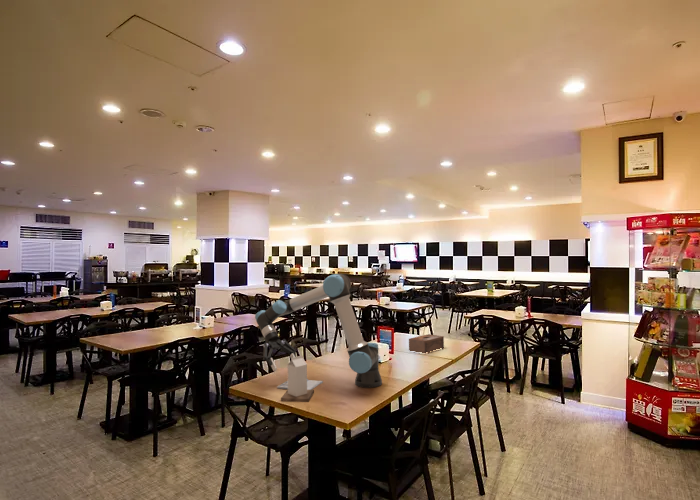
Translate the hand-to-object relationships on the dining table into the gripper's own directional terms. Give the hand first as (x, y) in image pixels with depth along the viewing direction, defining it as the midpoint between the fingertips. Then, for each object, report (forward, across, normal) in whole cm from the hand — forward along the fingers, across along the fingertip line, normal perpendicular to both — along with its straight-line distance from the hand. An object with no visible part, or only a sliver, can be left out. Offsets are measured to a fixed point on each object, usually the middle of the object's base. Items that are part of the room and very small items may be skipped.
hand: (286, 367), depth 211 cm
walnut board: (+17, +1, -1) cm, 17 cm away
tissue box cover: (+8, -134, -15) cm, 135 cm away
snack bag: (+8, -12, -12) cm, 19 cm away
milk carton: (+16, +1, 0) cm, 16 cm away
